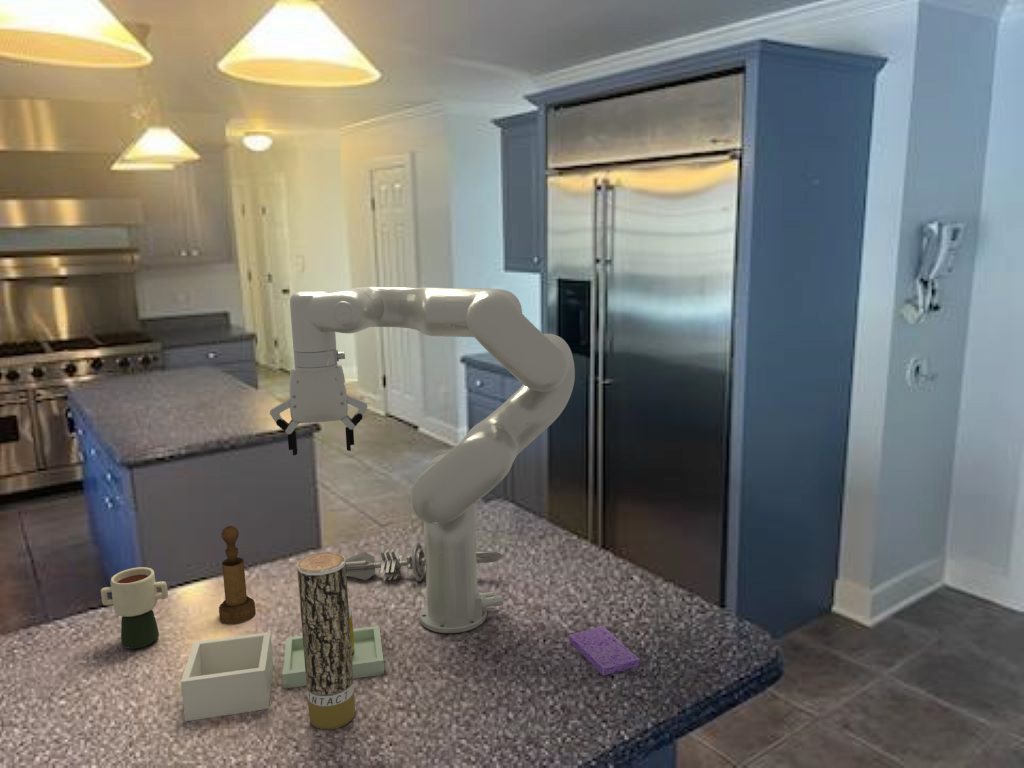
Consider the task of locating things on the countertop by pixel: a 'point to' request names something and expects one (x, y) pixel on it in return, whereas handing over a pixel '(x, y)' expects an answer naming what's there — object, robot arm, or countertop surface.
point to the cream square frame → (228, 676)
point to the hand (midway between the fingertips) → (322, 451)
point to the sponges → (604, 650)
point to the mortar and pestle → (234, 583)
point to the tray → (363, 661)
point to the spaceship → (400, 563)
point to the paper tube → (326, 639)
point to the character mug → (135, 604)
